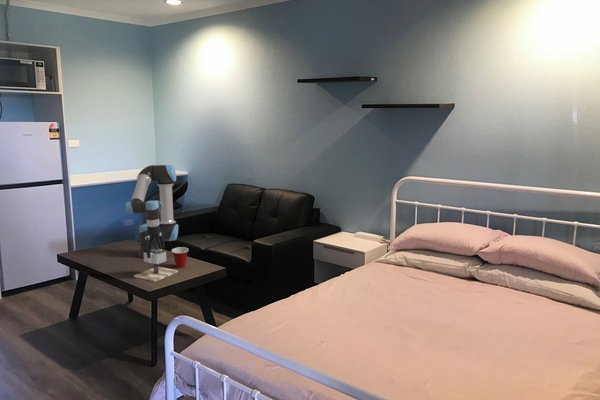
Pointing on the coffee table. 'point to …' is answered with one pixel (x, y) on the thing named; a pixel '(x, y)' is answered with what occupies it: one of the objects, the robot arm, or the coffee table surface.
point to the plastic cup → (180, 256)
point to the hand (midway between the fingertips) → (155, 260)
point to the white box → (156, 256)
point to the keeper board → (156, 273)
